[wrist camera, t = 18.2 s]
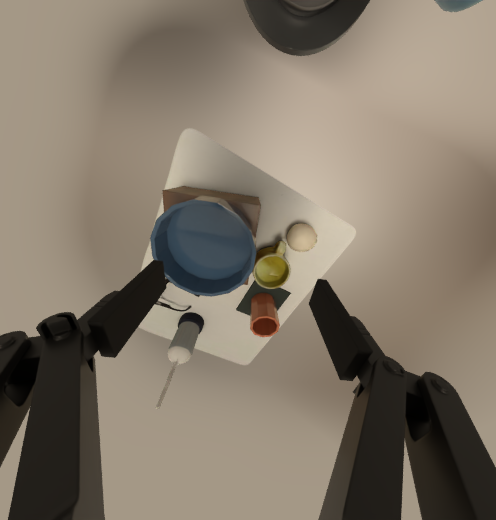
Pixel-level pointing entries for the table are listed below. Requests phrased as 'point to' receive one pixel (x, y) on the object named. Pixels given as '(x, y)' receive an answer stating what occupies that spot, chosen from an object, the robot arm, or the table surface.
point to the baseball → (301, 237)
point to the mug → (271, 266)
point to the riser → (244, 203)
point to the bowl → (204, 245)
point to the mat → (255, 288)
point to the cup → (263, 315)
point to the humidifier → (183, 344)
